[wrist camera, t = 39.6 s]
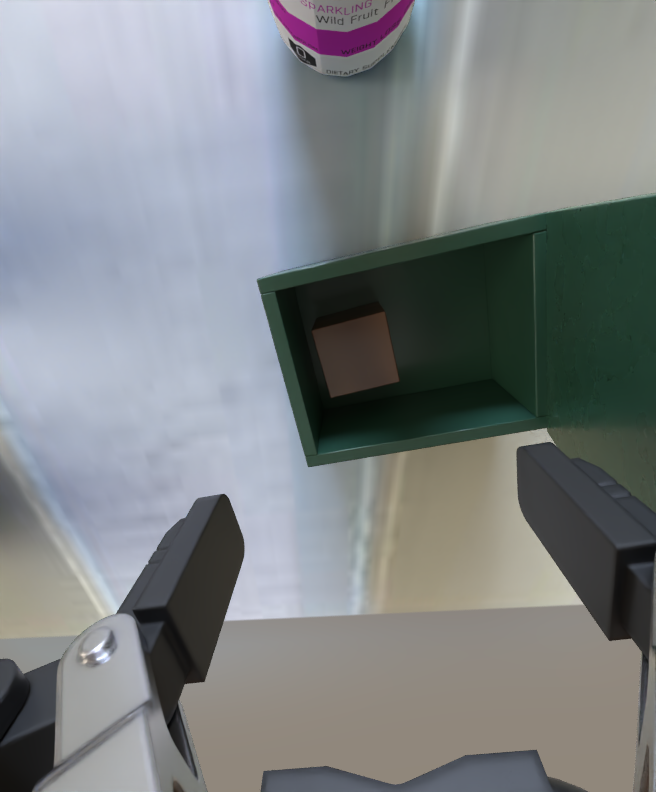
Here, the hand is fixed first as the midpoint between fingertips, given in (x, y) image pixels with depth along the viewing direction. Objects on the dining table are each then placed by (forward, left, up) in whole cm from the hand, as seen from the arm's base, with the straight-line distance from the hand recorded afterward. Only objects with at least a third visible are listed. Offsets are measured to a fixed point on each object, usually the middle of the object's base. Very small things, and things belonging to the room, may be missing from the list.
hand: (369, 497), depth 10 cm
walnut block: (0, 0, -18) cm, 18 cm away
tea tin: (+3, 0, -19) cm, 19 cm away
